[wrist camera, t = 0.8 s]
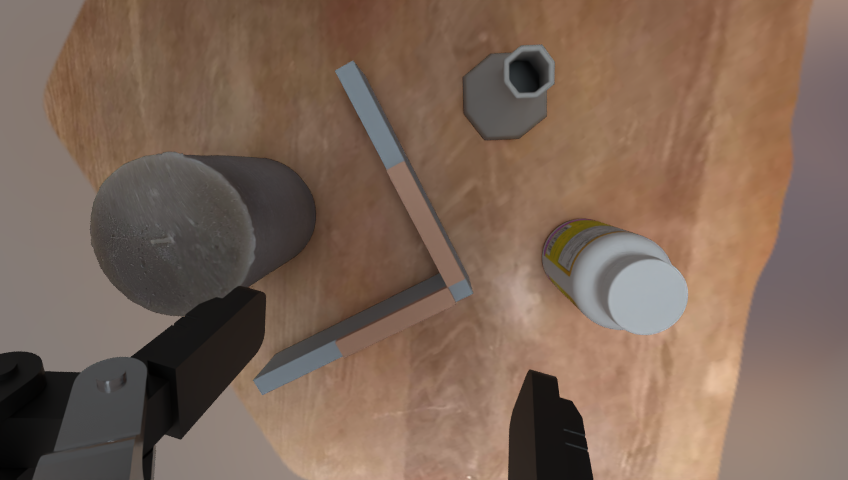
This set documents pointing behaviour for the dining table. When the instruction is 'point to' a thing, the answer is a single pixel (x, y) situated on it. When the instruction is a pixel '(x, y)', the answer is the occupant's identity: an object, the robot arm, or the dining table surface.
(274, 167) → the pillar candle
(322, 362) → the corner arena
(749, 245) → the dining table surface
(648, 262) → the supplement bottle
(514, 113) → the flask
